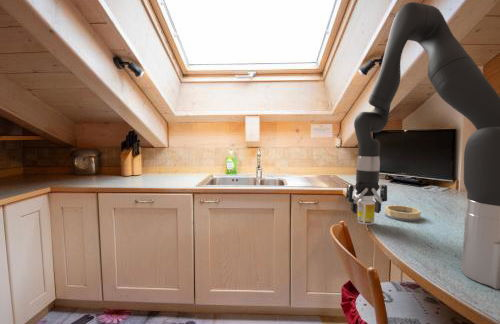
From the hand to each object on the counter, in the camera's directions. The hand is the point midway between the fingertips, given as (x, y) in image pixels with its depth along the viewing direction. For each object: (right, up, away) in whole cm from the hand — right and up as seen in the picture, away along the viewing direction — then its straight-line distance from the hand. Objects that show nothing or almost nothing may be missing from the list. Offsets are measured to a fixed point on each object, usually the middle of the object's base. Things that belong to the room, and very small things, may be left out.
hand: (365, 212), depth 96 cm
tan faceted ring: (+18, -3, +7) cm, 19 cm away
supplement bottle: (0, -4, 0) cm, 4 cm away
